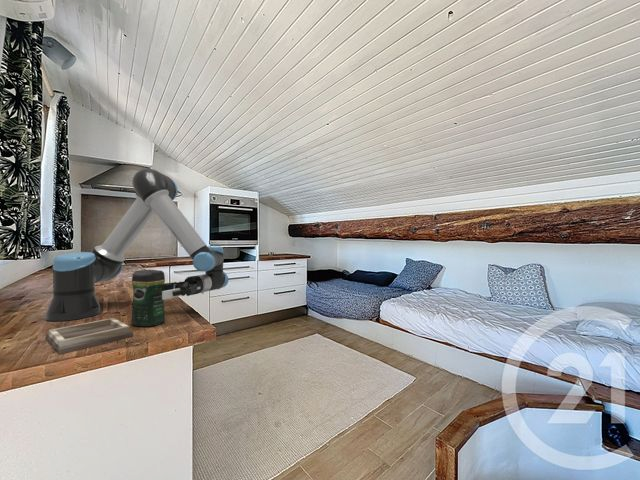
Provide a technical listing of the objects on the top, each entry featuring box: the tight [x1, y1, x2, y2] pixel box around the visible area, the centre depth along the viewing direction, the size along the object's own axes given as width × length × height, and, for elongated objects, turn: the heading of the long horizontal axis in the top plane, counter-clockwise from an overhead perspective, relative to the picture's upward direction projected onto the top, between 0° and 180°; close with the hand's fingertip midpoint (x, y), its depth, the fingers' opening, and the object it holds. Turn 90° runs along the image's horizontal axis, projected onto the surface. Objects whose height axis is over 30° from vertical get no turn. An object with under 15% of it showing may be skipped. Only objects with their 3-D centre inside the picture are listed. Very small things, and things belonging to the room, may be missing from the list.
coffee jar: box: [131, 269, 166, 327], centre depth 93 cm, size 10×8×19 cm
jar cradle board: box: [45, 317, 134, 355], centre depth 80 cm, size 18×16×3 cm
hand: (148, 293), depth 93 cm, fingers open, 13 cm apart
